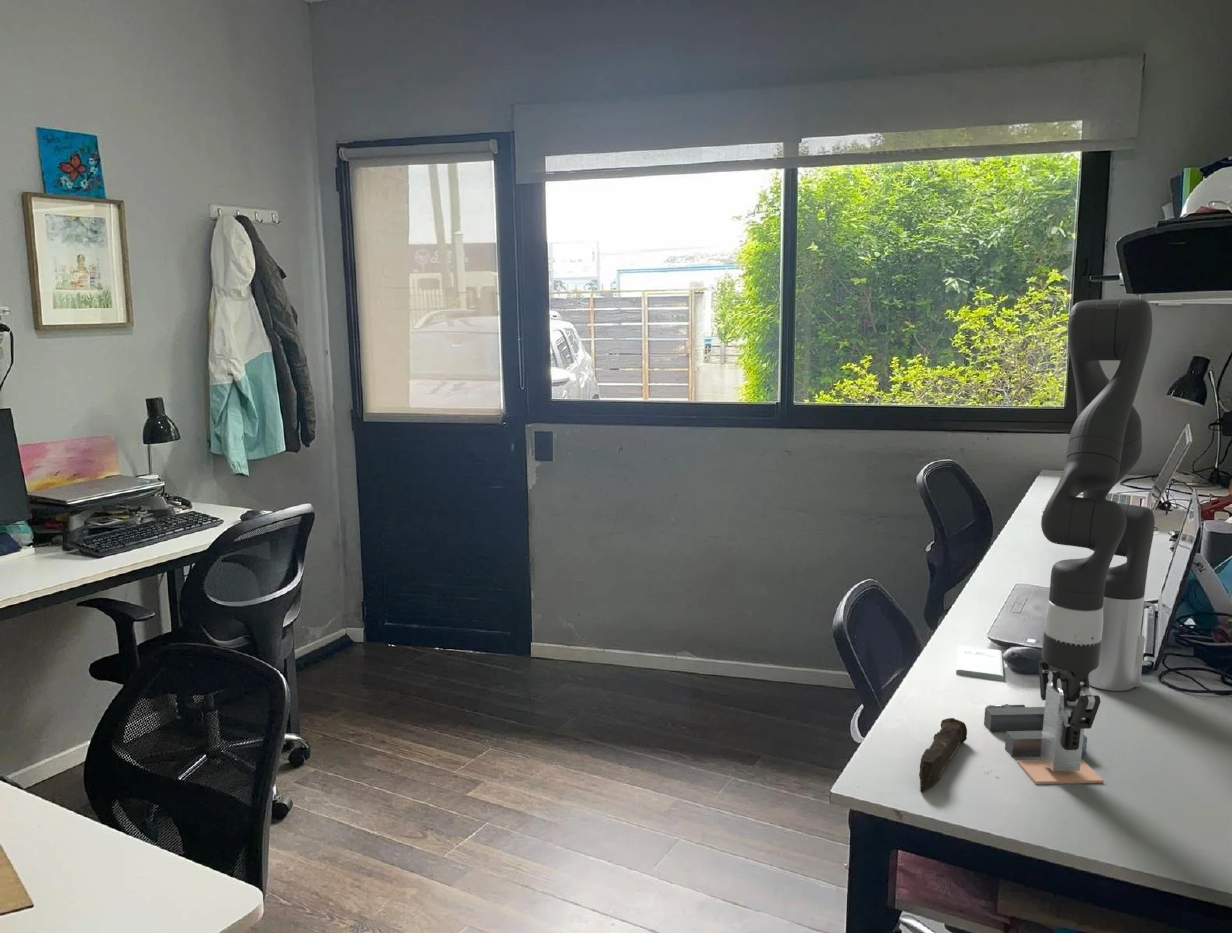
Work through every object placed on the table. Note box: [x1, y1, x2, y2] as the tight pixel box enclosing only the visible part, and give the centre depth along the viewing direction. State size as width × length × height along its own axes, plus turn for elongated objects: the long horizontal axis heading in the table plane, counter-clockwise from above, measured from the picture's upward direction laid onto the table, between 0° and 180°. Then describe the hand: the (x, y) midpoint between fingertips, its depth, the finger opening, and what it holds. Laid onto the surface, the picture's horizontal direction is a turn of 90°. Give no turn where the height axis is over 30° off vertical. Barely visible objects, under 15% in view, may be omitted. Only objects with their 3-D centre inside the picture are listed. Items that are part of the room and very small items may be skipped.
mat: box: [1016, 758, 1104, 785], centre depth 137 cm, size 10×6×1 cm, turn 91°
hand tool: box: [918, 717, 968, 793], centre depth 140 cm, size 19×4×5 cm, turn 144°
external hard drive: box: [955, 645, 1004, 681], centre depth 176 cm, size 2×8×12 cm
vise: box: [983, 703, 1088, 758], centre depth 149 cm, size 12×14×3 cm
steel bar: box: [1039, 683, 1085, 771], centre depth 136 cm, size 4×4×12 cm
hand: (1062, 740), depth 136 cm, fingers closed on steel bar, 4 cm apart
